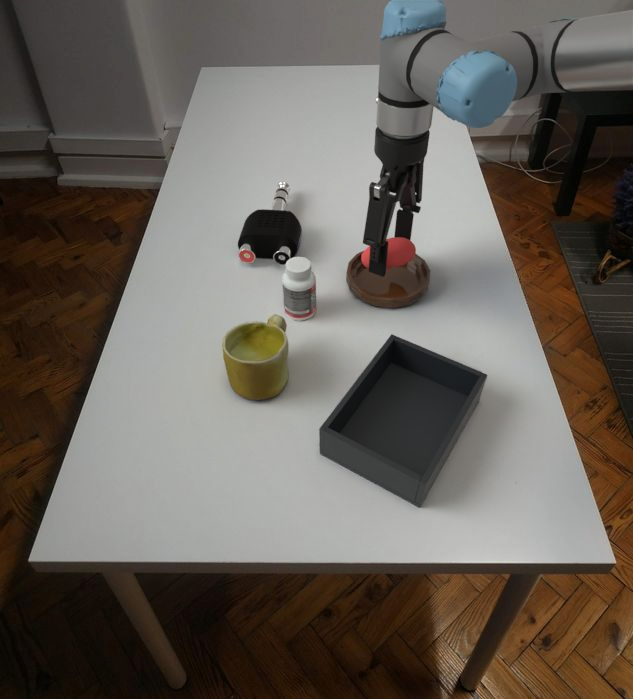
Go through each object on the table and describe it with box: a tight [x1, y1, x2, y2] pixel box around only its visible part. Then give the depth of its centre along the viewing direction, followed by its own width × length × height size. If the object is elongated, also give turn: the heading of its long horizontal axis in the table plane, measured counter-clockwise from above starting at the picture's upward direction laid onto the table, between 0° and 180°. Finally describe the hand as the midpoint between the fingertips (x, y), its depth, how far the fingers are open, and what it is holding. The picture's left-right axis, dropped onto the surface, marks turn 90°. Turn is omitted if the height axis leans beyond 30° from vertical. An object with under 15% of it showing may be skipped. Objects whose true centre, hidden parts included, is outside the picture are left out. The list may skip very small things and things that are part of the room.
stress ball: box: [361, 236, 417, 269], centre depth 92 cm, size 5×9×6 cm
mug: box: [221, 313, 289, 401], centre depth 81 cm, size 12×10×10 cm
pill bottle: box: [281, 256, 317, 322], centre depth 89 cm, size 5×5×10 cm
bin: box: [318, 333, 488, 509], centre depth 74 cm, size 15×20×6 cm
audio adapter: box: [237, 181, 303, 266], centre depth 107 cm, size 11×5×25 cm
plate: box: [345, 249, 431, 309], centre depth 96 cm, size 14×14×2 cm
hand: (389, 258), depth 94 cm, fingers closed on stress ball, 8 cm apart
